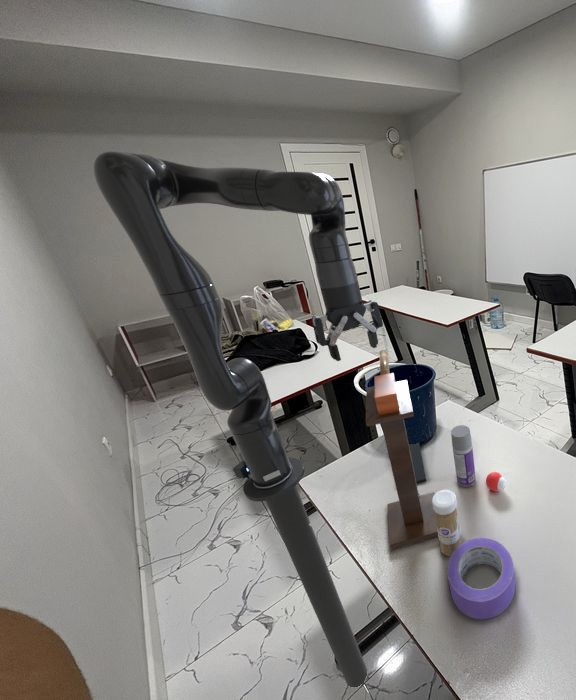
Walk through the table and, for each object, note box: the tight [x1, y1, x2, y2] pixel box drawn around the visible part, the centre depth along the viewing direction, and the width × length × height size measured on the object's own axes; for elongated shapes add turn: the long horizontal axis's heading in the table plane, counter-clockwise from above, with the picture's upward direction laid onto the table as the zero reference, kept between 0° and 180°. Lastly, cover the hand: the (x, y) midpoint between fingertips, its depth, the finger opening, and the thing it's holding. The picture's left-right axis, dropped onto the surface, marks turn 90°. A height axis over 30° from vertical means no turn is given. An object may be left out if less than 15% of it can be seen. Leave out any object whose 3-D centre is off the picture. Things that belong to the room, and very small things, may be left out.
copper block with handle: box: [373, 349, 400, 415], centre depth 71 cm, size 23×4×4 cm, turn 14°
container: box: [450, 424, 477, 488], centre depth 85 cm, size 5×5×15 cm
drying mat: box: [409, 442, 427, 484], centre depth 96 cm, size 16×7×1 cm, turn 14°
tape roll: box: [447, 536, 516, 620], centre depth 64 cm, size 12×12×5 cm
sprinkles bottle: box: [432, 489, 463, 557], centre depth 70 cm, size 5×5×14 cm
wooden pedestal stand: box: [365, 379, 439, 551], centre depth 72 cm, size 12×11×32 cm
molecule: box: [485, 471, 507, 492], centre depth 84 cm, size 5×5×4 cm
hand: (356, 353), depth 79 cm, fingers open, 8 cm apart
